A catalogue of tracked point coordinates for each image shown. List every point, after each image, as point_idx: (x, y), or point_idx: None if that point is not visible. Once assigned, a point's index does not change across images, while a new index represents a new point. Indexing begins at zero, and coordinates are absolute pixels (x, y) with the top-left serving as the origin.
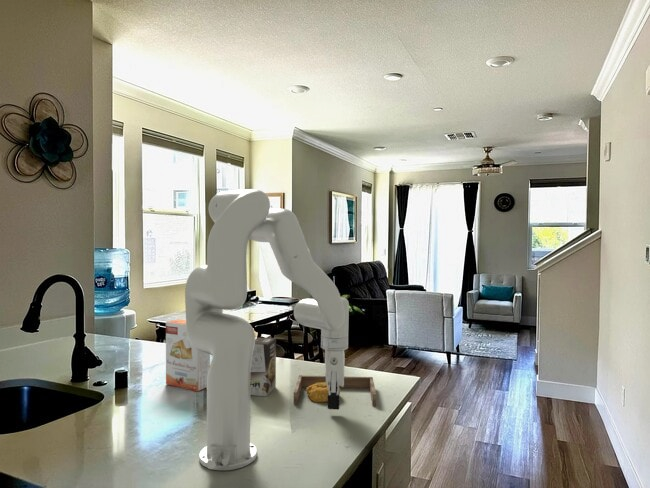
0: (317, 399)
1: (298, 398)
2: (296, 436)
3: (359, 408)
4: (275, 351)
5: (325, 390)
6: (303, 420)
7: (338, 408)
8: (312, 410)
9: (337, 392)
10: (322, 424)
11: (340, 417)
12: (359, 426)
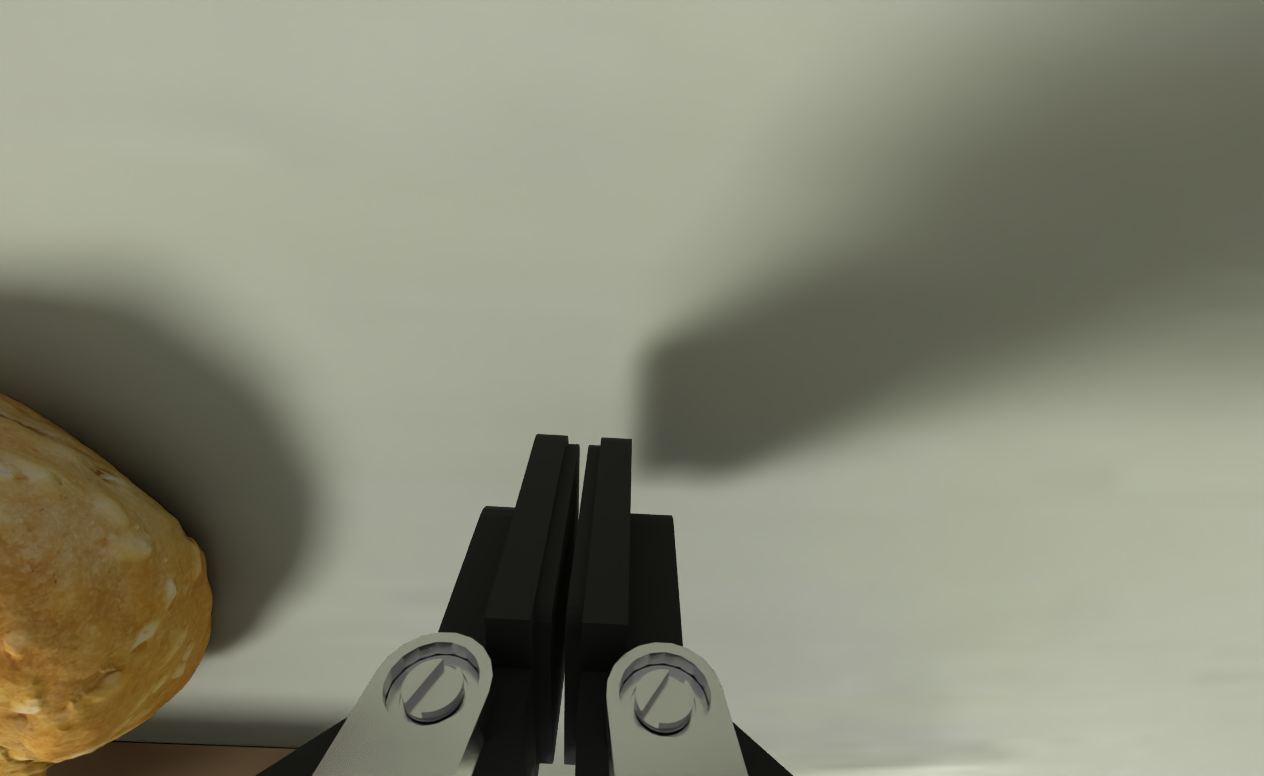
0: (200, 631)
1: (185, 746)
2: (1097, 734)
3: (272, 10)
4: None
5: (41, 664)
6: (756, 700)
7: (628, 448)
8: None
9: (733, 758)
10: (889, 562)
11: (699, 368)
12: (1094, 96)
